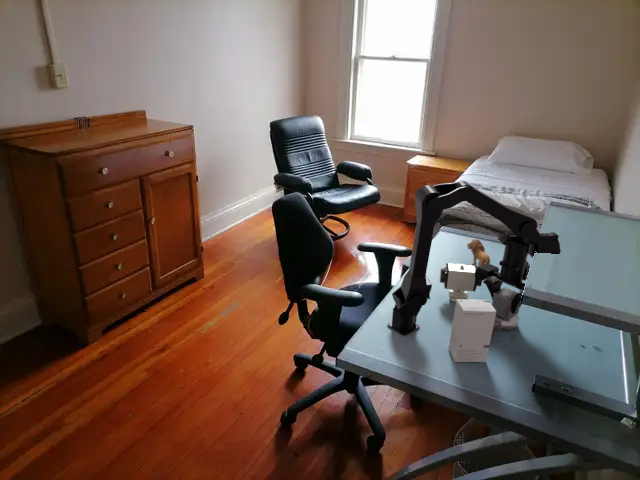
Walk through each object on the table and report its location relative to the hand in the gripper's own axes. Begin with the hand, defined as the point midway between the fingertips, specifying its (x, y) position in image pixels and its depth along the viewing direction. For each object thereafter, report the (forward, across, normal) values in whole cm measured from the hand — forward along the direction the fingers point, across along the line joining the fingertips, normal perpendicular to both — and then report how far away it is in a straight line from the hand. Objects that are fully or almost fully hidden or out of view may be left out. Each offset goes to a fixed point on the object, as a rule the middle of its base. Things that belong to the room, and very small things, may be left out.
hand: (504, 309), depth 129 cm
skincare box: (+5, -3, +20) cm, 20 cm away
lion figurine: (+5, +24, -24) cm, 34 cm away
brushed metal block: (+1, 0, 0) cm, 1 cm away
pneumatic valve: (+5, +16, -1) cm, 17 cm away
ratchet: (+5, 0, +6) cm, 8 cm away
